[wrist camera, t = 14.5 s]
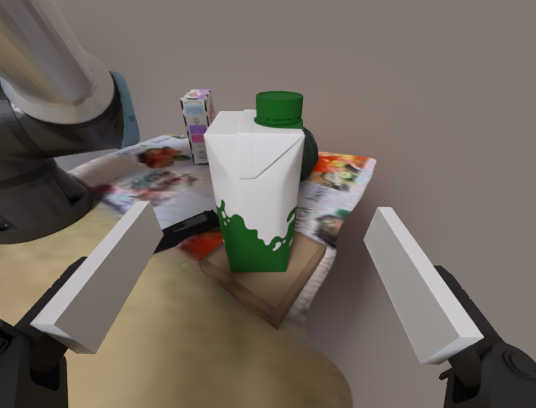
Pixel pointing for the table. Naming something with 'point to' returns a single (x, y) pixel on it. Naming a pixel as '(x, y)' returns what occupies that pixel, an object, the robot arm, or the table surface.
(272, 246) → the milk carton
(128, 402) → the table surface
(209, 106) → the candy box
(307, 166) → the squash
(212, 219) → the electric trimmer
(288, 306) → the board
